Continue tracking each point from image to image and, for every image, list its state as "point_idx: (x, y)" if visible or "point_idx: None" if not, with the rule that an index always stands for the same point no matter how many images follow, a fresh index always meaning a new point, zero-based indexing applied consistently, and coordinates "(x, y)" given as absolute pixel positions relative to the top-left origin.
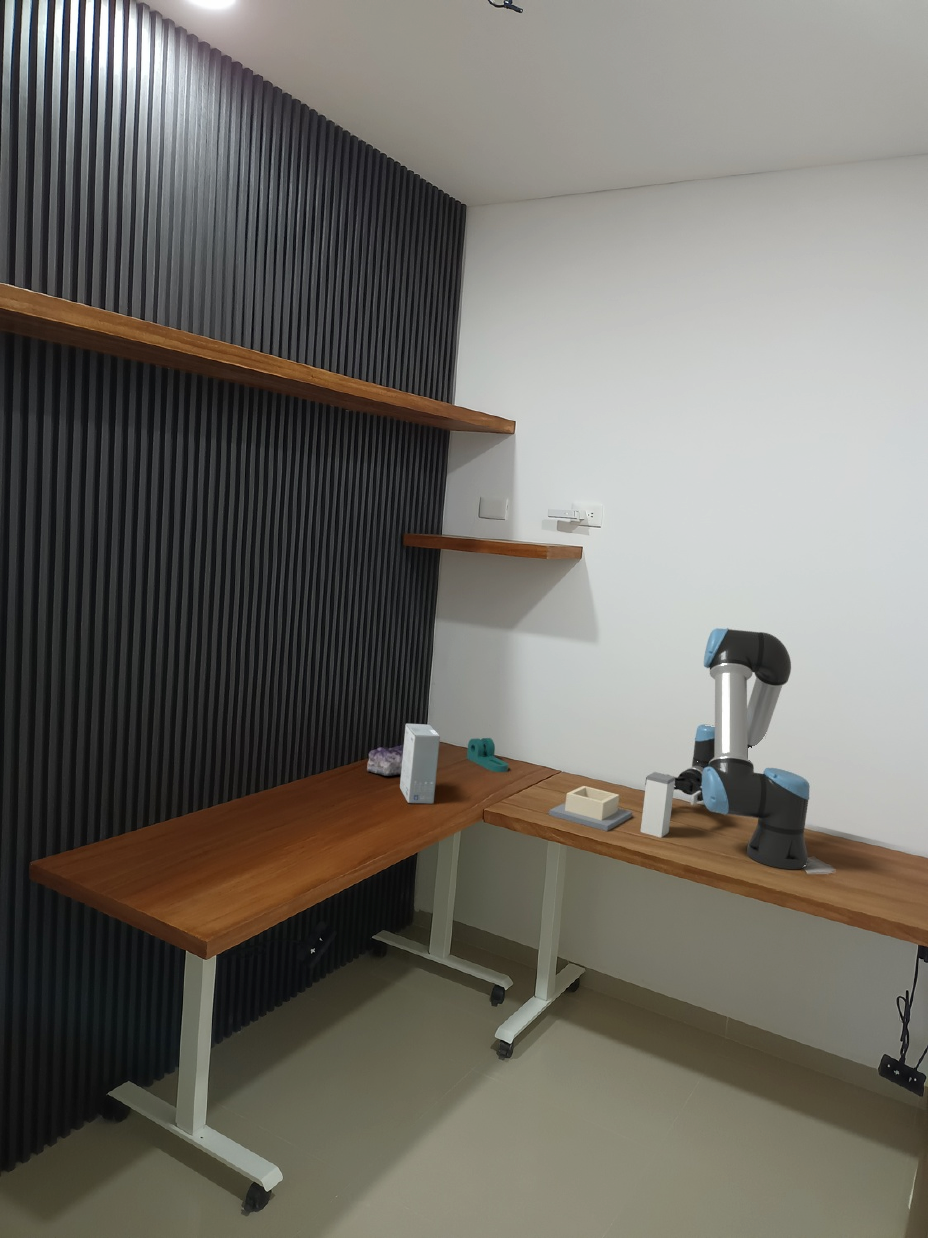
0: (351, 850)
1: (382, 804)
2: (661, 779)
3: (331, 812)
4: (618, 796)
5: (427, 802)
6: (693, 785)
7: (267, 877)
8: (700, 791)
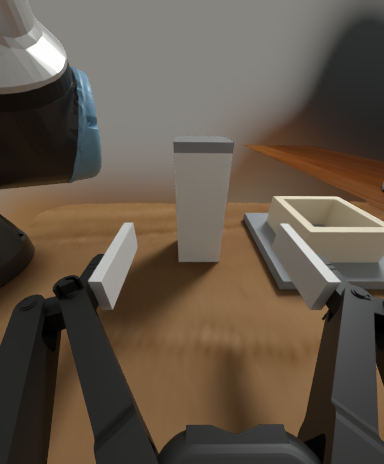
0: (288, 159)
1: (379, 179)
2: (191, 136)
3: (357, 168)
4: (306, 231)
5: (382, 187)
6: (137, 412)
7: (273, 151)
8: (94, 272)
